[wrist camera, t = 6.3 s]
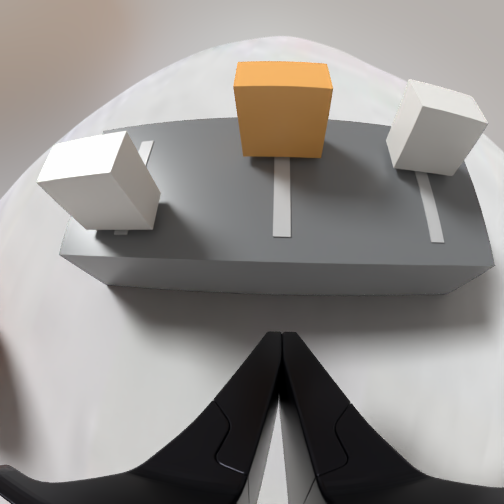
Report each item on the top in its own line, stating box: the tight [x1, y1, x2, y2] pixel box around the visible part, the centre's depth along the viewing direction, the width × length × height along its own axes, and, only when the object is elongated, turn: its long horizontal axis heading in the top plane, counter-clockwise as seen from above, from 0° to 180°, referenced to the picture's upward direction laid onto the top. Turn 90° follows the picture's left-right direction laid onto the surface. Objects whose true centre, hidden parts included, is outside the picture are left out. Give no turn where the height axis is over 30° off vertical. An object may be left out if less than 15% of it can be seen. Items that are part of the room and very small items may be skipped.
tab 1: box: [36, 131, 161, 230], centre depth 11 cm, size 2×4×4 cm, turn 87°
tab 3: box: [386, 79, 488, 176], centre depth 11 cm, size 2×4×4 cm, turn 87°
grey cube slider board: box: [59, 117, 495, 296], centre depth 15 cm, size 8×21×5 cm, turn 87°
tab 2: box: [233, 61, 333, 158], centre depth 11 cm, size 2×4×4 cm, turn 87°
